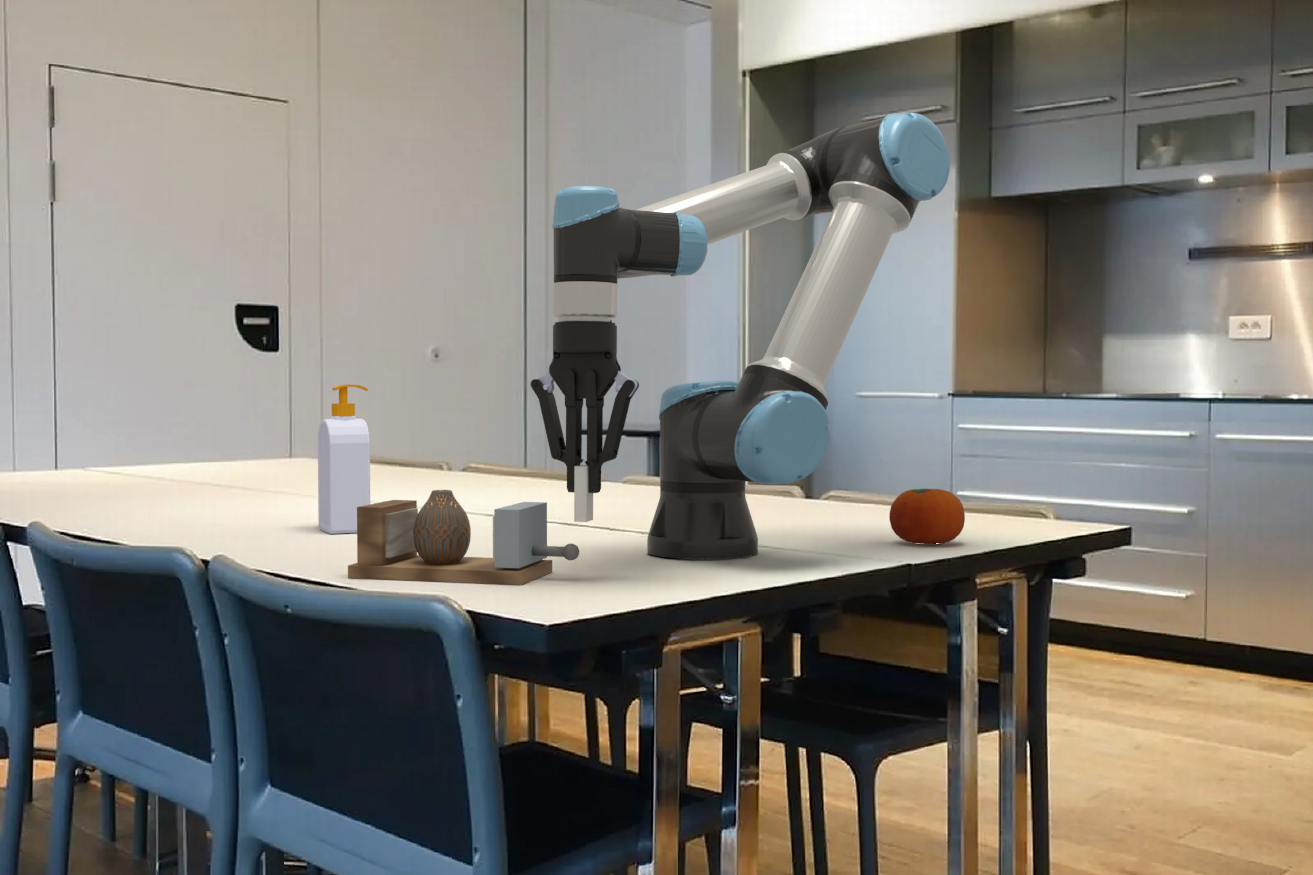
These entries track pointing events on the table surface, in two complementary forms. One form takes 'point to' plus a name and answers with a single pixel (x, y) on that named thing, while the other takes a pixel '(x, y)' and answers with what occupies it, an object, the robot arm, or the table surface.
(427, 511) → the vase
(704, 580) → the table surface
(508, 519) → the jaw
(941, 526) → the fruit
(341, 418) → the soap bottle
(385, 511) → the vise base
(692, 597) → the table surface
